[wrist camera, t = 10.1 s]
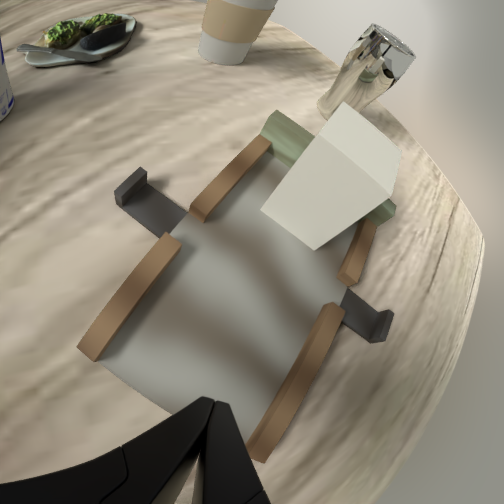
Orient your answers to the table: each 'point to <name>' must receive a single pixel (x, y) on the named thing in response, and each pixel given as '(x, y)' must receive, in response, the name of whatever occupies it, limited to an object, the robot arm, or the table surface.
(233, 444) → the robot arm
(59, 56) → the salad plate
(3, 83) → the beverage can
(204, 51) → the coffee cup
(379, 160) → the block
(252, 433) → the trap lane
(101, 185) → the table surface
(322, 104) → the beer glass
